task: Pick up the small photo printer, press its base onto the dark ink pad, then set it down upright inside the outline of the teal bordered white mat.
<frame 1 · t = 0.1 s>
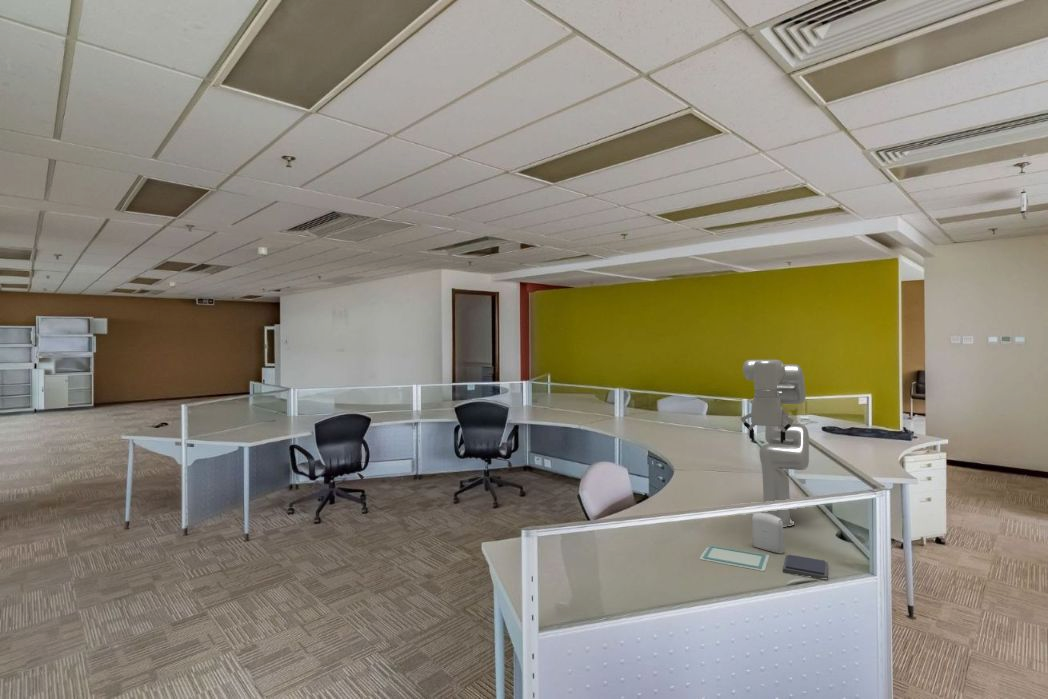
hand: (767, 441, 183), 37 cm above the table, tool pointing down, fingers open, 9 cm apart
teal bordered white mat: (734, 557, 170), on the table
ink pad: (805, 569, 160), on the table
photo printer: (768, 549, 177), on the table
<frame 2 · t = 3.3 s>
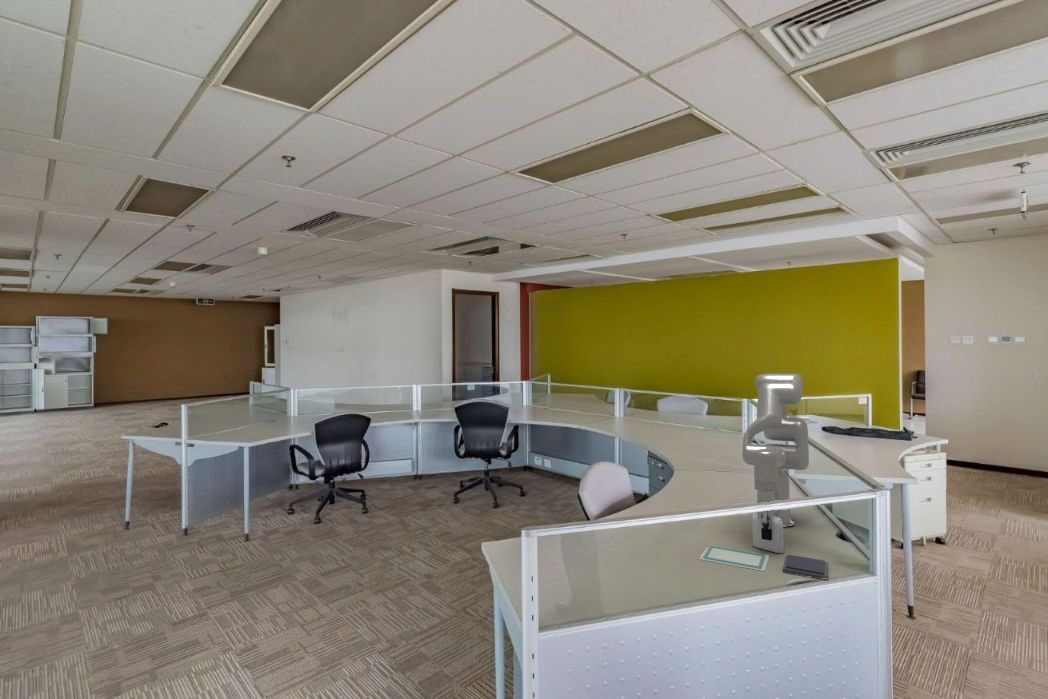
hand: (767, 536, 177), 5 cm above the table, tool pointing down, fingers closed on photo printer, 5 cm apart
photo printer: (768, 549, 177), on the table, touching gripper
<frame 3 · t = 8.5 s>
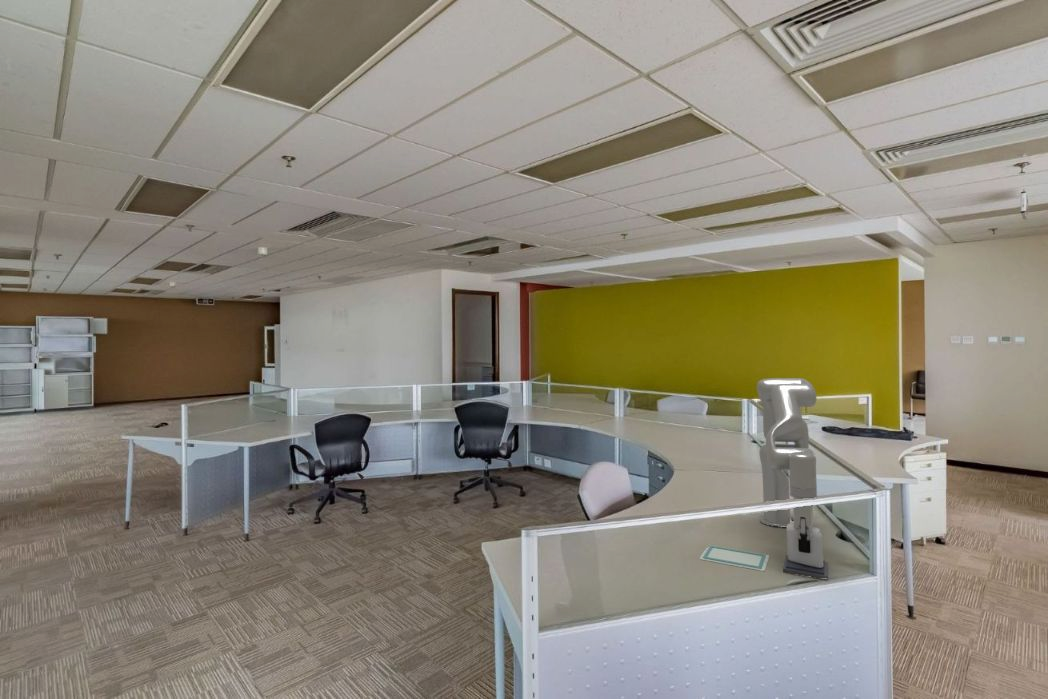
hand: (804, 548, 160), 7 cm above the table, tool pointing down, fingers closed on photo printer, 5 cm apart
photo printer: (805, 563, 160), point 2 cm above the table, touching gripper, ink pad
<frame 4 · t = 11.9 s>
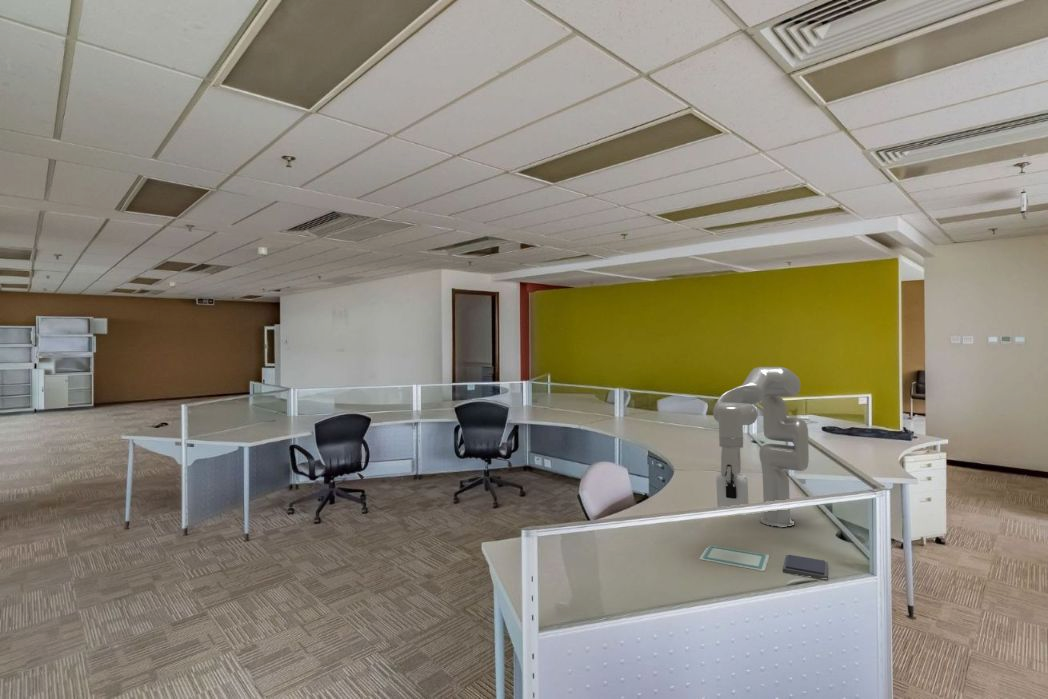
hand: (732, 495, 171), 21 cm above the table, tool pointing down, fingers closed on photo printer, 5 cm apart
photo printer: (732, 509, 171), point 16 cm above the table, touching gripper
when the fingers open (5 cm above the table, at t = 15.2 s): photo printer stays where it is, resting on teal bordered white mat.
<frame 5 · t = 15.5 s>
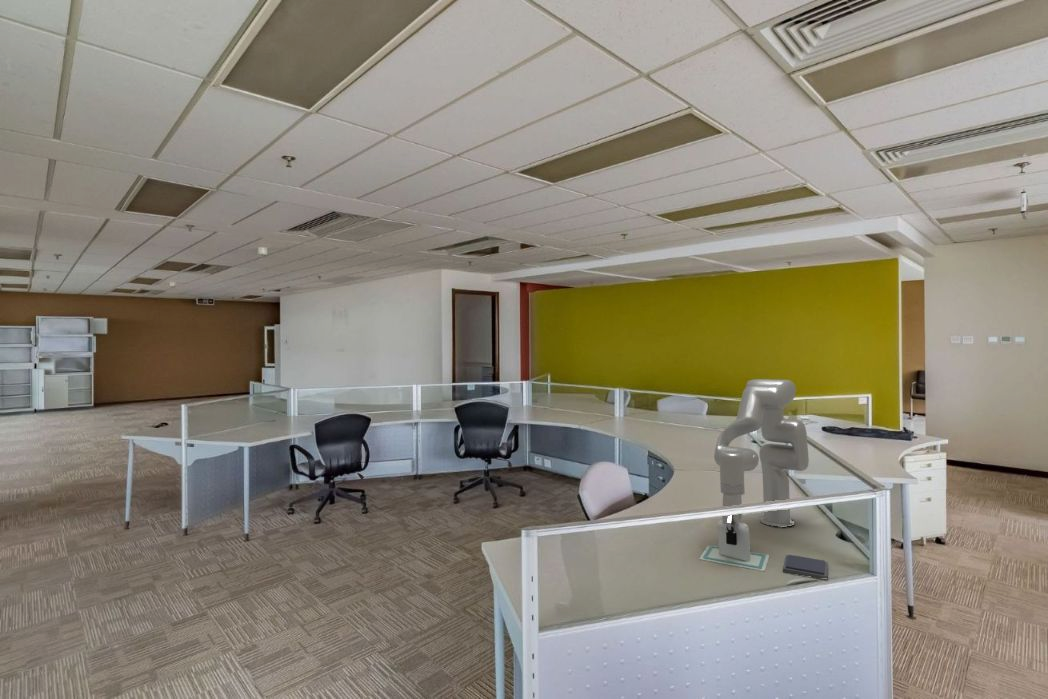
hand: (733, 539, 171), 6 cm above the table, tool pointing down, fingers open, 8 cm apart
photo printer: (734, 557, 171), resting on teal bordered white mat
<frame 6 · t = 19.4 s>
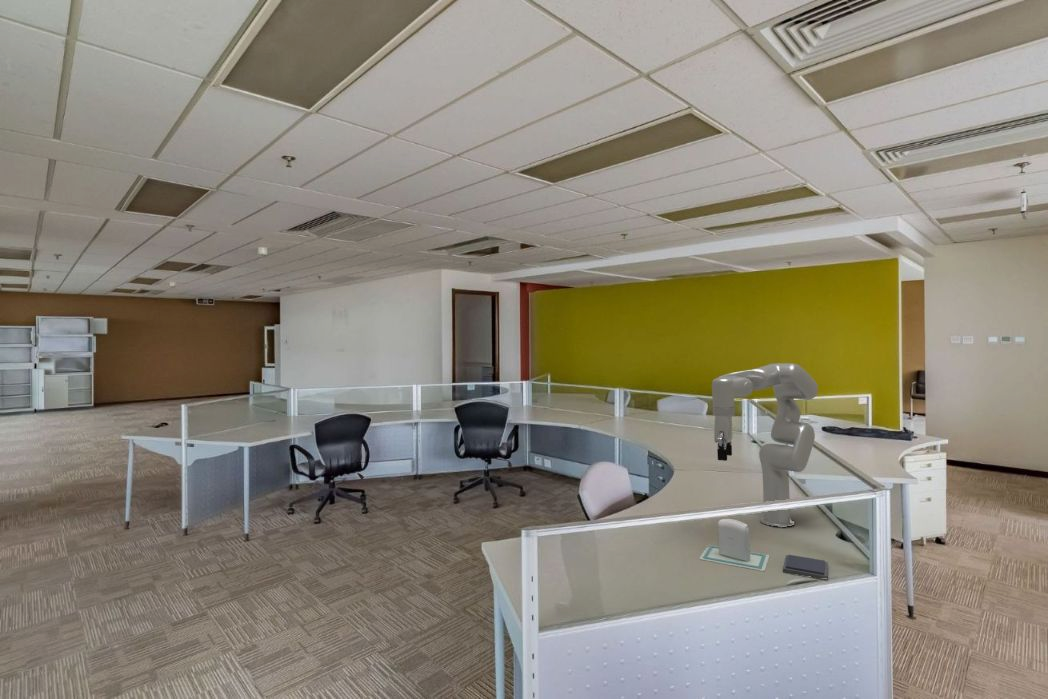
hand: (725, 457, 187), 30 cm above the table, tool pointing down, fingers open, 9 cm apart
nothing on the table moved.
at the end: photo printer inside the target area on the teal bordered white mat (0.3 cm from its centre), point 0.0 cm above the teal bordered white mat's base; photo printer tilted 0°; the gripper is holding nothing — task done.
